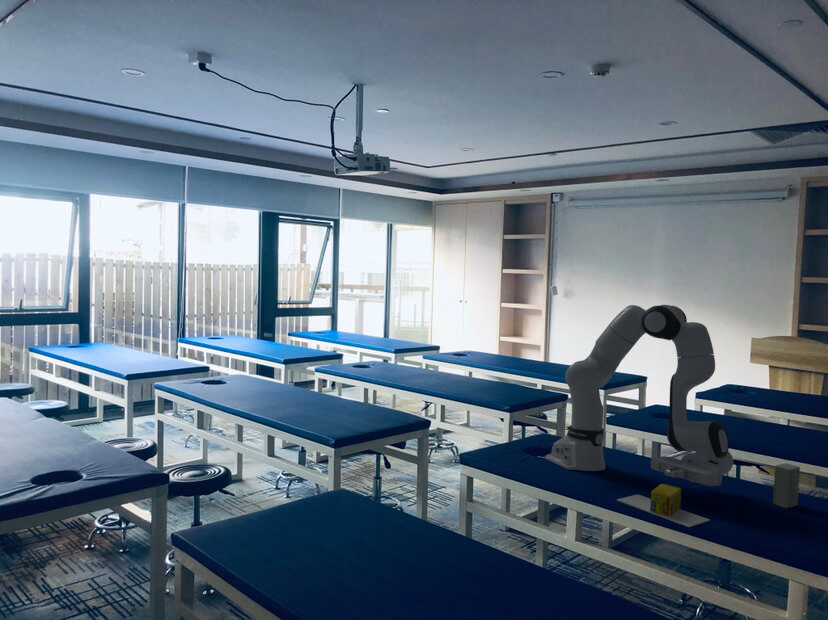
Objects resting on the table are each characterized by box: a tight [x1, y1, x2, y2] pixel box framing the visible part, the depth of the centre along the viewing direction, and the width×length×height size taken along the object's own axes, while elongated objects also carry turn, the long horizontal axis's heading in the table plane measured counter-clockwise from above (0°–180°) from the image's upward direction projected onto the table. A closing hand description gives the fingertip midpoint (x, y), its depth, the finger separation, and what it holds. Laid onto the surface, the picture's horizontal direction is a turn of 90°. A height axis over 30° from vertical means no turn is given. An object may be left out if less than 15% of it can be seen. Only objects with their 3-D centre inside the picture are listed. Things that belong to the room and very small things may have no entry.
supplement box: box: [650, 483, 683, 516], centre depth 183 cm, size 6×6×11 cm
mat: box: [616, 493, 711, 528], centre depth 183 cm, size 24×10×1 cm, turn 34°
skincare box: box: [772, 463, 801, 509], centre depth 191 cm, size 6×4×12 cm
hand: (668, 473), depth 187 cm, fingers closed
